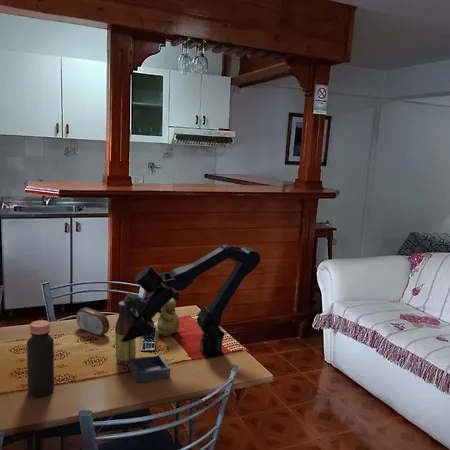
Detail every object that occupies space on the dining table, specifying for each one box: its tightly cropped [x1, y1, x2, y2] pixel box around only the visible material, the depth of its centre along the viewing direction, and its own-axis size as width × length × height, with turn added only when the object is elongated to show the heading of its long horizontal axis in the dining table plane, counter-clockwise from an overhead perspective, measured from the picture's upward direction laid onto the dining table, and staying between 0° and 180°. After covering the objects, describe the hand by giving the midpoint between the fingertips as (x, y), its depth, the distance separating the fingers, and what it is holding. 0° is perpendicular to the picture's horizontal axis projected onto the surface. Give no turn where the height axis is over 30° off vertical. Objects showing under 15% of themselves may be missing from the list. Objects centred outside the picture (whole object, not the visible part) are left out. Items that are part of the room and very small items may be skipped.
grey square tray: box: [128, 354, 171, 384], centre depth 144 cm, size 10×10×3 cm
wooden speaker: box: [75, 306, 110, 337], centre depth 170 cm, size 15×3×8 cm, turn 58°
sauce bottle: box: [114, 300, 137, 366], centre depth 149 cm, size 6×6×20 cm
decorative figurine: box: [156, 298, 181, 337], centre depth 173 cm, size 10×8×15 cm
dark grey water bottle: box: [26, 319, 55, 398], centre depth 129 cm, size 7×7×20 cm
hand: (121, 336), depth 148 cm, fingers open, 7 cm apart
